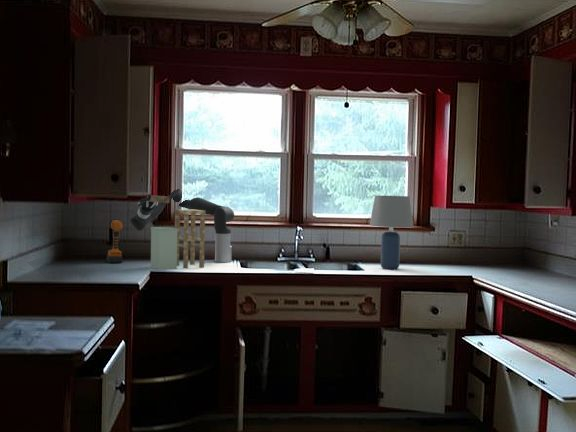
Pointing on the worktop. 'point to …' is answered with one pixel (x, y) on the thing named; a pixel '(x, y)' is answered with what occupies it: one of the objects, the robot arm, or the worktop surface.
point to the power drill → (115, 243)
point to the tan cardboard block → (159, 199)
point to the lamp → (391, 225)
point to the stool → (190, 238)
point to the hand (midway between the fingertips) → (153, 196)
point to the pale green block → (164, 247)
